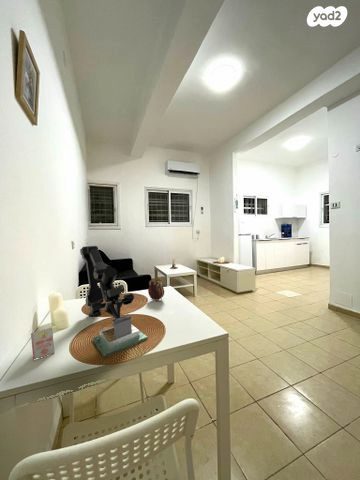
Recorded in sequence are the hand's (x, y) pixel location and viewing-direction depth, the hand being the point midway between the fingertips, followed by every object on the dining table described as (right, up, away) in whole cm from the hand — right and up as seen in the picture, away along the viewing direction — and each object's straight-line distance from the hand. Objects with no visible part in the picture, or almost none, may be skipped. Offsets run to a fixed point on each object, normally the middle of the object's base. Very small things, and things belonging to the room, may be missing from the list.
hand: (119, 320), depth 84 cm
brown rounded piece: (+11, -6, +46) cm, 48 cm away
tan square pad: (-3, -4, +5) cm, 7 cm away
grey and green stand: (0, -9, +1) cm, 9 cm away
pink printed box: (-27, -11, -7) cm, 30 cm away
